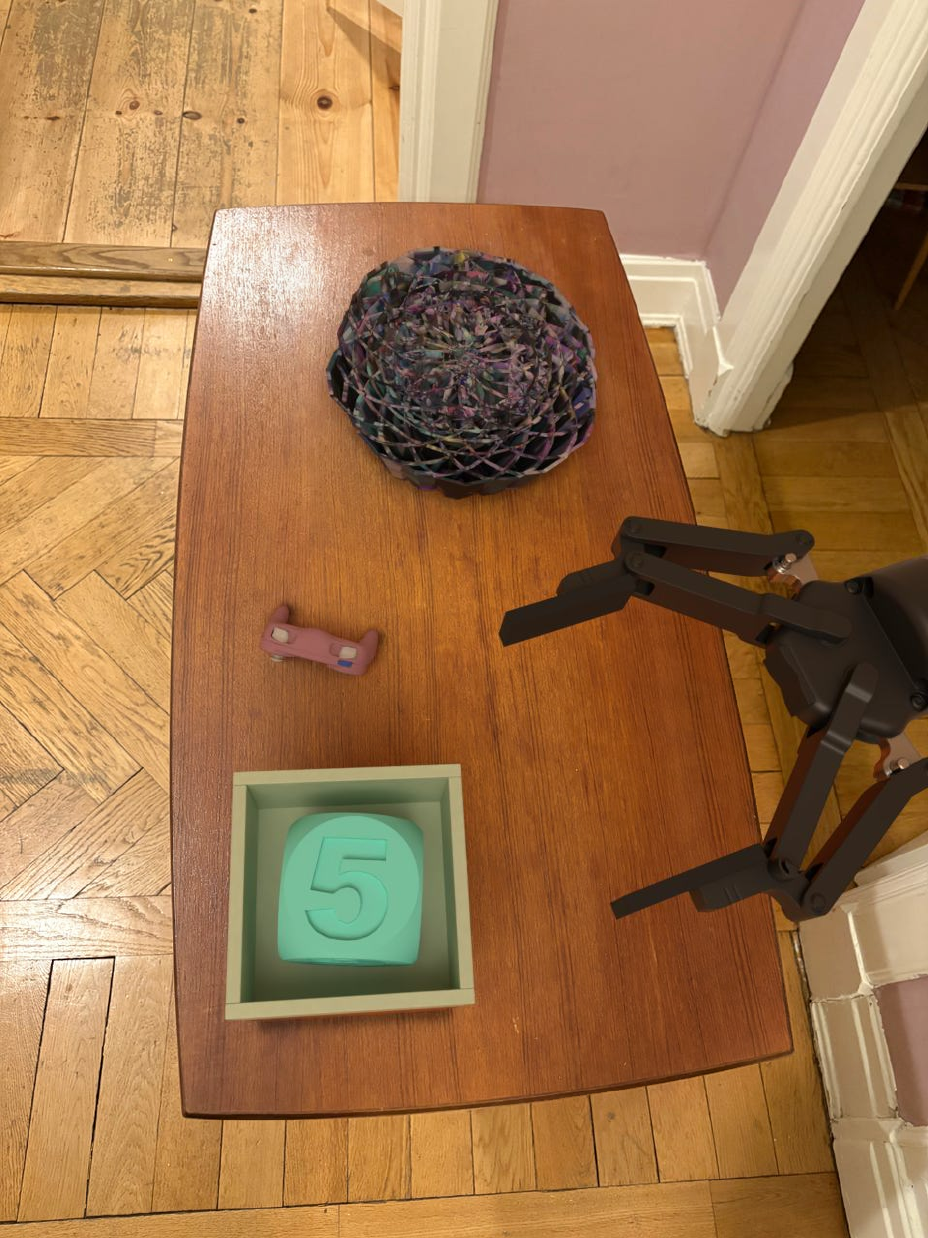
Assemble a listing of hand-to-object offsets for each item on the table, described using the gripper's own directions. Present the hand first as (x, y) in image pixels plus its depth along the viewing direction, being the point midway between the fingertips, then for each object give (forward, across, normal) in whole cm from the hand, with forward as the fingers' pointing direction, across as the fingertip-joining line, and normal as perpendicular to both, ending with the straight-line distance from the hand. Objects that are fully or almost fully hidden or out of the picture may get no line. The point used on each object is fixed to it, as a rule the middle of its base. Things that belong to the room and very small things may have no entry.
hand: (558, 761), depth 43 cm
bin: (+10, 0, -23) cm, 25 cm away
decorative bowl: (-15, +44, -39) cm, 61 cm away
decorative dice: (+10, 0, -22) cm, 24 cm away
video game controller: (+6, +24, -39) cm, 46 cm away
